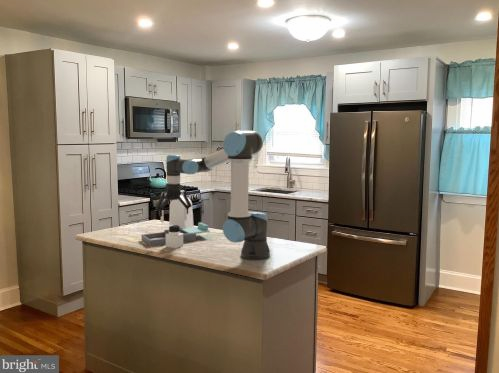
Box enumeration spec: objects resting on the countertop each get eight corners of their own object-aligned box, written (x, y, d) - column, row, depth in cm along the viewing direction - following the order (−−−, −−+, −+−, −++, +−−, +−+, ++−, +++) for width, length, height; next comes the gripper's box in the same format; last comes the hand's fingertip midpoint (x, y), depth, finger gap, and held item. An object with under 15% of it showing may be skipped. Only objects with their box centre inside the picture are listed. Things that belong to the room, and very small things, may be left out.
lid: (209, 231, 273) (209, 225, 273) (189, 234, 267) (189, 228, 266) (201, 227, 284) (201, 221, 283) (181, 230, 277) (181, 224, 277)
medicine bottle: (183, 245, 256) (183, 224, 254) (175, 248, 249) (175, 227, 248) (173, 244, 259) (173, 223, 257) (165, 247, 253) (165, 226, 251)
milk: (185, 233, 285) (184, 192, 281) (169, 232, 289) (168, 191, 285) (193, 229, 296) (193, 190, 293) (177, 228, 300) (177, 189, 296)
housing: (196, 240, 267) (196, 232, 267) (150, 246, 253) (150, 238, 253) (185, 235, 281) (185, 227, 280) (141, 240, 267) (141, 232, 266)
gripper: (191, 181, 259) (191, 217, 262) (149, 183, 246) (149, 221, 249) (197, 182, 253) (197, 220, 256) (153, 185, 240) (154, 224, 243)
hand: (173, 220), depth 253 cm, fingers open, 13 cm apart
